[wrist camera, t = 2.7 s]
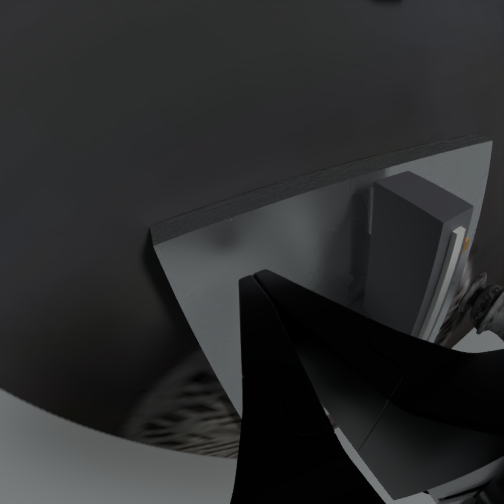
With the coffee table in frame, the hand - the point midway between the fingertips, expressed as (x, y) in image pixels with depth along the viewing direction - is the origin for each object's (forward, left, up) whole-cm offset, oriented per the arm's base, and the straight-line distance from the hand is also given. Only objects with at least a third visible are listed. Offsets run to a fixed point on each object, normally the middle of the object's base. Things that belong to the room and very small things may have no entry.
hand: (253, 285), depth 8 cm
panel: (-8, -7, -2) cm, 11 cm away
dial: (-5, -6, -1) cm, 8 cm away
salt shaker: (-16, -24, -3) cm, 29 cm away
